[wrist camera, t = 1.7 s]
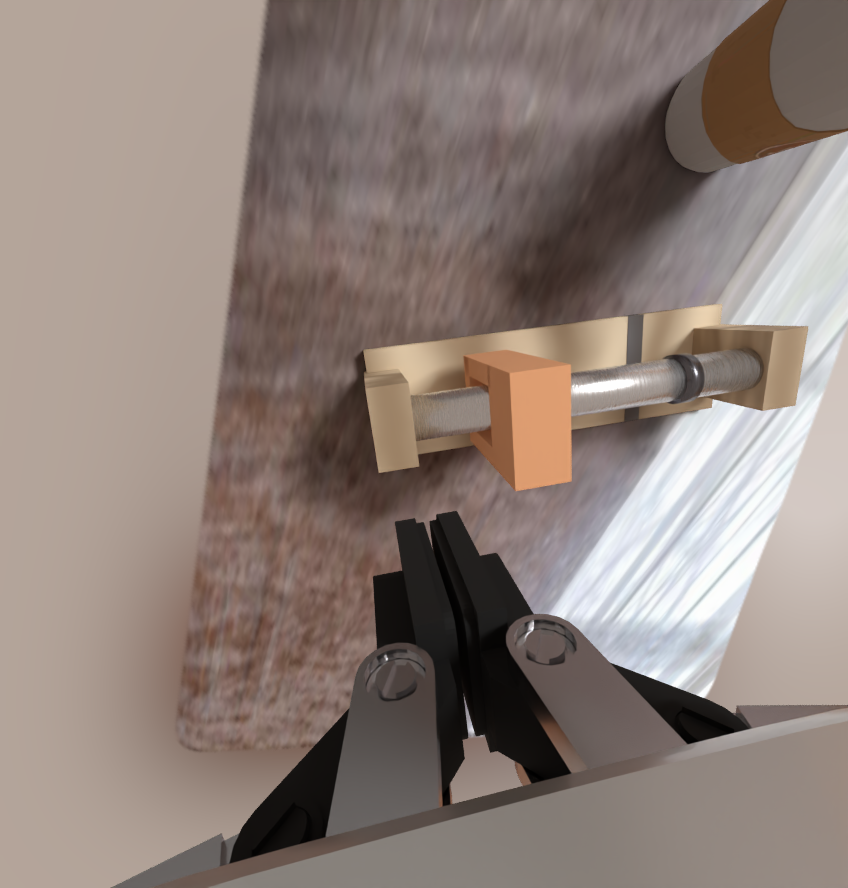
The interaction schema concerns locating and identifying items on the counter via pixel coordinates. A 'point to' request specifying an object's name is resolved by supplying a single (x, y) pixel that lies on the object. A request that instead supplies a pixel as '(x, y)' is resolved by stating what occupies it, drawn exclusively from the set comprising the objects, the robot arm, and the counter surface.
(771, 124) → the coffee cup
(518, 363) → the collar
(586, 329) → the beige long frame
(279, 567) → the counter surface
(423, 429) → the pipe
